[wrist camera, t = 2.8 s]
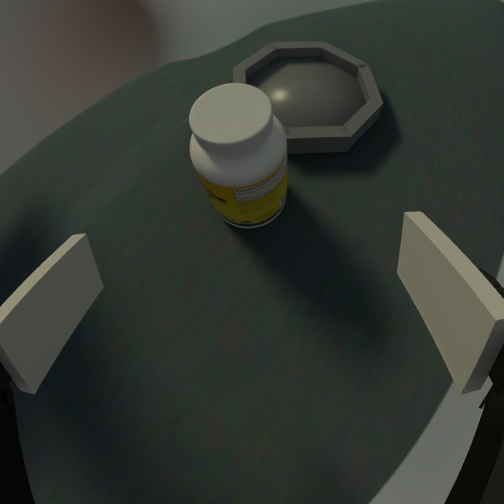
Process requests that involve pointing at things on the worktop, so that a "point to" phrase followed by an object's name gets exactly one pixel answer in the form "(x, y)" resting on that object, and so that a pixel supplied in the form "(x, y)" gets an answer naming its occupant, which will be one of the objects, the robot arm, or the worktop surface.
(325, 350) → the worktop surface
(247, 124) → the pill bottle
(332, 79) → the octagonal tray
